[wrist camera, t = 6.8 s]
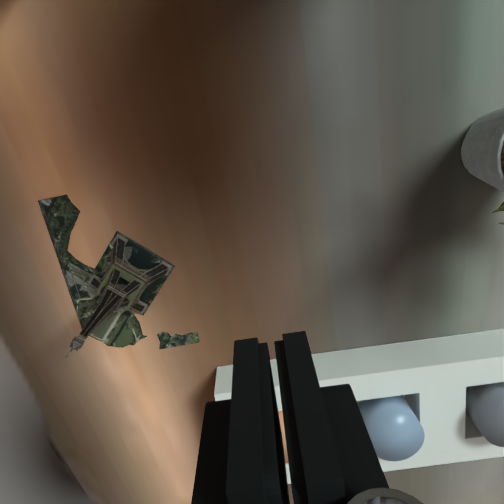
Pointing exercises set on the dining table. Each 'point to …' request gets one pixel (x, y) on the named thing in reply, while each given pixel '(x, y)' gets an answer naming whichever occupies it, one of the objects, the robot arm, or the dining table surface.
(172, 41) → the dining table surface
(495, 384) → the charcoal button
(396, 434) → the slate blue button
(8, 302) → the dining table surface
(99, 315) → the eiffel tower figurine
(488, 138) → the house plant
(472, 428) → the white button panel
